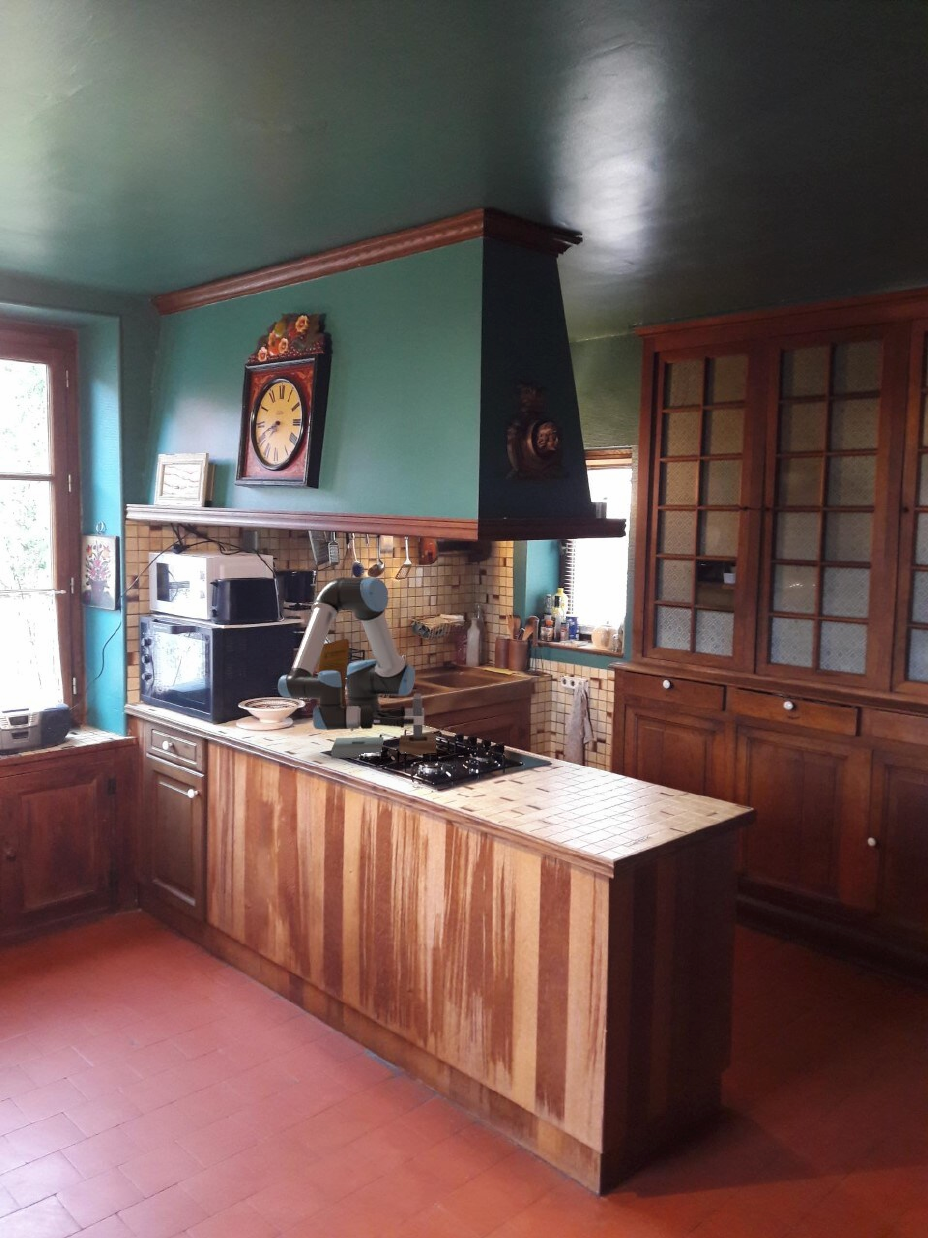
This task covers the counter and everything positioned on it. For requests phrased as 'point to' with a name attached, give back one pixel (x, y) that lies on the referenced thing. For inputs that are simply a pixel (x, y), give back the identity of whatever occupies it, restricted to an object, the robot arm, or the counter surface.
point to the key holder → (418, 744)
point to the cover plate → (356, 746)
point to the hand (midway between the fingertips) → (424, 716)
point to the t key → (417, 712)
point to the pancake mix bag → (335, 661)
